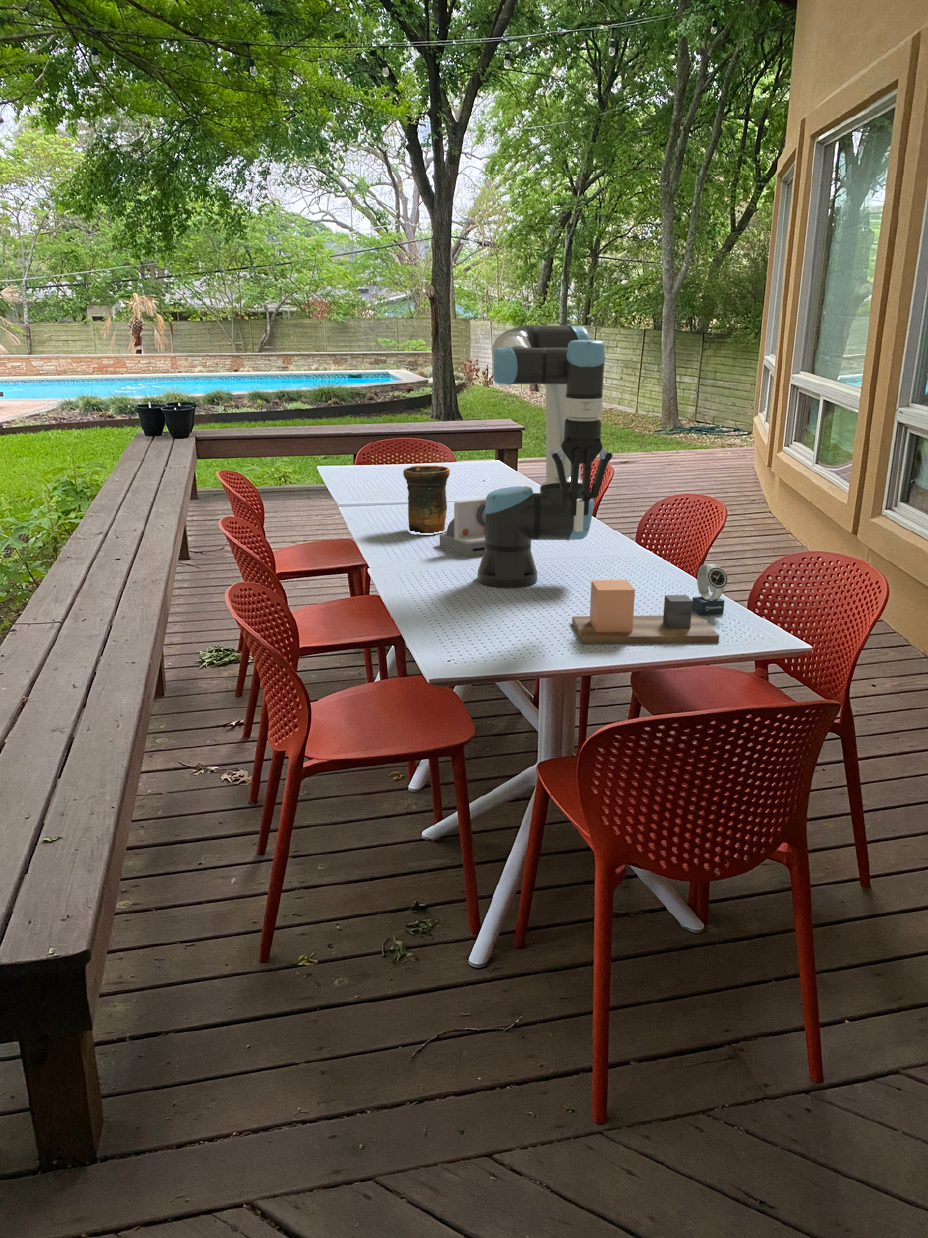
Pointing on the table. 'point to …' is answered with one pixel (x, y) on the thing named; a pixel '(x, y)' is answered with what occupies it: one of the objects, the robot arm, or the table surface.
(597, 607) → the peach cube
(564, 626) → the table surface
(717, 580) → the watch
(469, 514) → the instant camera
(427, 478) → the vessel
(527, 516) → the robot arm
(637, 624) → the post board
